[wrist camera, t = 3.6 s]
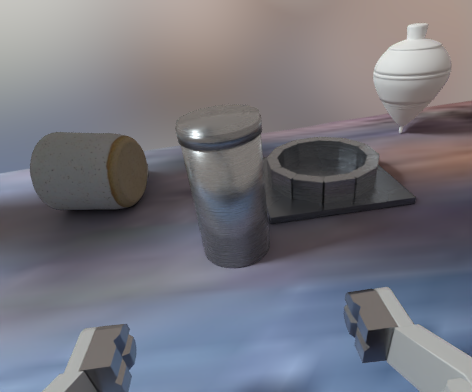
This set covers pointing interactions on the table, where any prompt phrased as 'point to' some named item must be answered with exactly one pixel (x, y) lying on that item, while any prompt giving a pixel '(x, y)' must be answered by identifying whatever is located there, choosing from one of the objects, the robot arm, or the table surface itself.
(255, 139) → the lidded canister
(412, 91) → the spinning top
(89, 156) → the ceramic mug
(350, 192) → the duct flange
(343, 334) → the table surface
